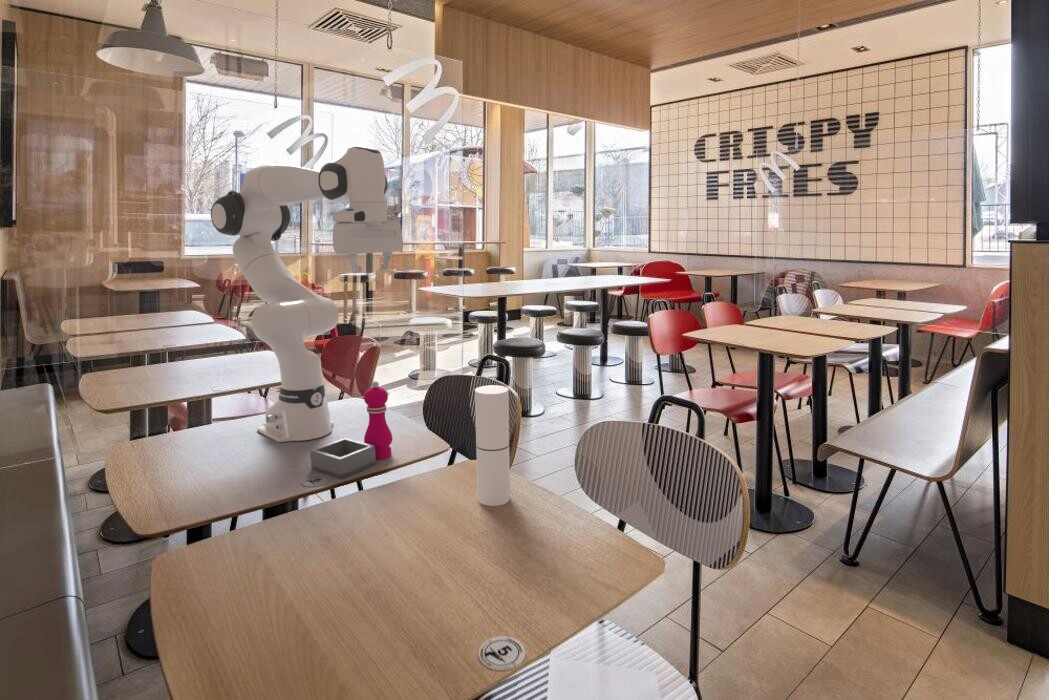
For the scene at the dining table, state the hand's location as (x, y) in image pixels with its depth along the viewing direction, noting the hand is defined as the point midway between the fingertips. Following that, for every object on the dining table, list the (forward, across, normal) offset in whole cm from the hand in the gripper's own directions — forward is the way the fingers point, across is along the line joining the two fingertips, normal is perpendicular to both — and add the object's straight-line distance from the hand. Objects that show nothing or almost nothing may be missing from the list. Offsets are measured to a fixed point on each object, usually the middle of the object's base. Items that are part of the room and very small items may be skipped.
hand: (371, 271), depth 158 cm
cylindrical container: (+48, +6, +41) cm, 64 cm away
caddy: (+48, +11, -1) cm, 49 cm away
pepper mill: (+48, +1, 0) cm, 48 cm away
